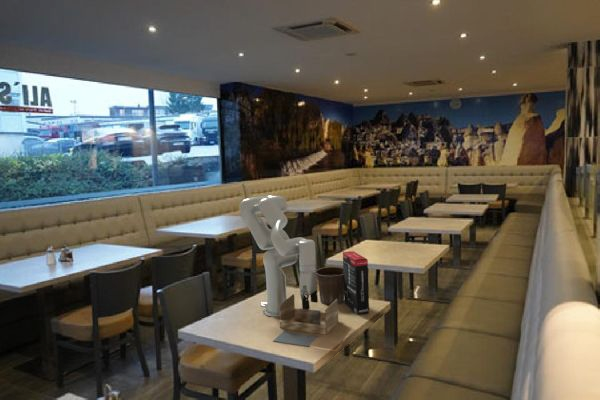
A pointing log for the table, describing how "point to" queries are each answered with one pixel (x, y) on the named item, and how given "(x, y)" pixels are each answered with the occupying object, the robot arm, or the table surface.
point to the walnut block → (308, 316)
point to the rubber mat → (295, 339)
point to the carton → (289, 322)
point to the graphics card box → (356, 282)
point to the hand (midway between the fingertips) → (310, 305)
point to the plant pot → (331, 284)
